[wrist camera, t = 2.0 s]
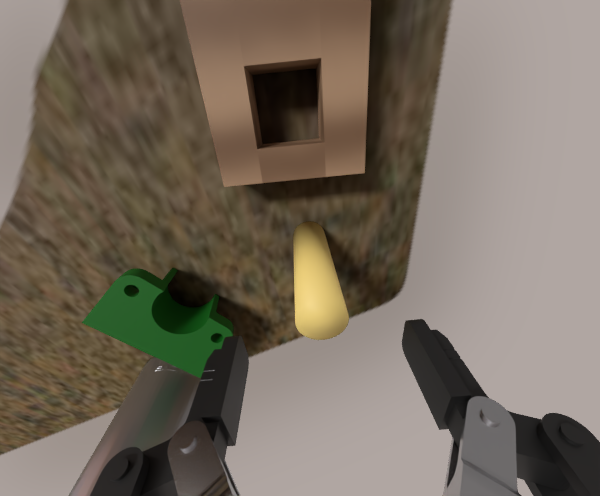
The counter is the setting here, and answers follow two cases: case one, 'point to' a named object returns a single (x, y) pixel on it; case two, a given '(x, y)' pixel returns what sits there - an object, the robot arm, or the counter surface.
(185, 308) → the clamp
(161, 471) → the robot arm
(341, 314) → the peg
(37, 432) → the counter surface
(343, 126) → the hole block
